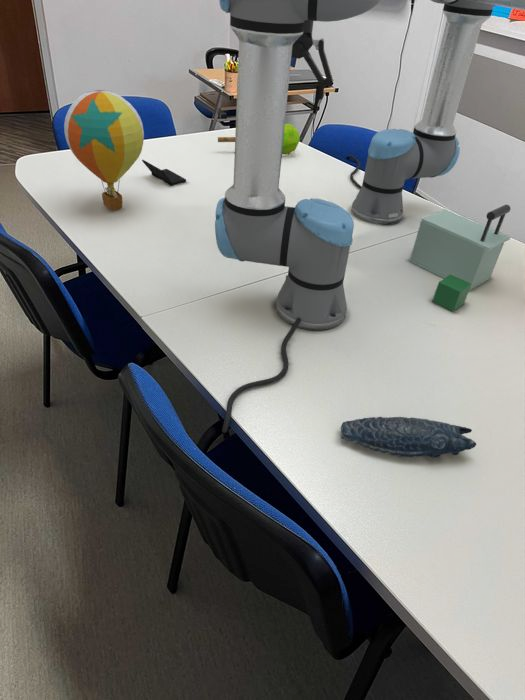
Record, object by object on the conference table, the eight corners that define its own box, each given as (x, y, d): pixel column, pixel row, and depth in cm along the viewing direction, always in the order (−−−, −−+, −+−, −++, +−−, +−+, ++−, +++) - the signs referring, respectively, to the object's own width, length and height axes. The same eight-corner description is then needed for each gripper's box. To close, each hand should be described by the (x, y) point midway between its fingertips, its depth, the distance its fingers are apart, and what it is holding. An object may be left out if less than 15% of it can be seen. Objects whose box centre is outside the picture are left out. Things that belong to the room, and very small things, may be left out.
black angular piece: (190, 175, 164) (173, 153, 156) (179, 193, 163) (161, 172, 155) (166, 170, 170) (147, 148, 162) (155, 188, 169) (136, 167, 161)
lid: (509, 239, 123) (522, 207, 118) (488, 251, 117) (501, 218, 112) (443, 212, 133) (452, 181, 128) (420, 221, 127) (429, 190, 122)
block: (464, 303, 120) (471, 283, 116) (452, 311, 117) (460, 291, 113) (443, 293, 123) (450, 274, 119) (432, 301, 119) (438, 281, 116)
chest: (490, 278, 130) (506, 238, 123) (469, 290, 124) (484, 249, 118) (431, 250, 140) (443, 212, 133) (409, 261, 134) (420, 221, 127)
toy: (64, 203, 145) (44, 85, 127) (127, 189, 156) (117, 79, 137) (97, 229, 134) (80, 105, 116) (162, 213, 145) (156, 96, 126)
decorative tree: (215, 117, 188) (295, 117, 193) (215, 147, 195) (292, 146, 200) (221, 131, 174) (307, 131, 180) (221, 163, 181) (304, 161, 186)
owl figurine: (474, 470, 81) (484, 449, 78) (339, 453, 82) (344, 431, 79) (465, 439, 86) (475, 417, 83) (339, 423, 87) (344, 401, 84)
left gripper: (351, 16, 123) (337, 111, 137) (248, 5, 125) (244, 100, 139) (351, 20, 118) (336, 118, 131) (243, 8, 119) (238, 107, 133)
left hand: (288, 109), depth 135 cm, fingers open, 13 cm apart
